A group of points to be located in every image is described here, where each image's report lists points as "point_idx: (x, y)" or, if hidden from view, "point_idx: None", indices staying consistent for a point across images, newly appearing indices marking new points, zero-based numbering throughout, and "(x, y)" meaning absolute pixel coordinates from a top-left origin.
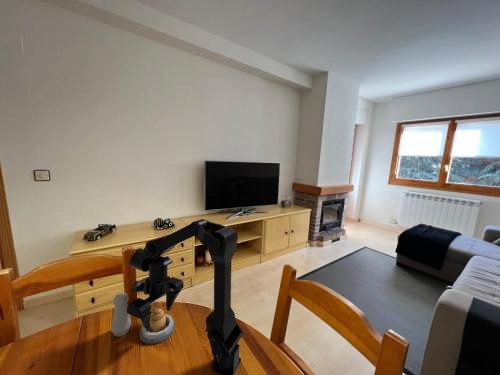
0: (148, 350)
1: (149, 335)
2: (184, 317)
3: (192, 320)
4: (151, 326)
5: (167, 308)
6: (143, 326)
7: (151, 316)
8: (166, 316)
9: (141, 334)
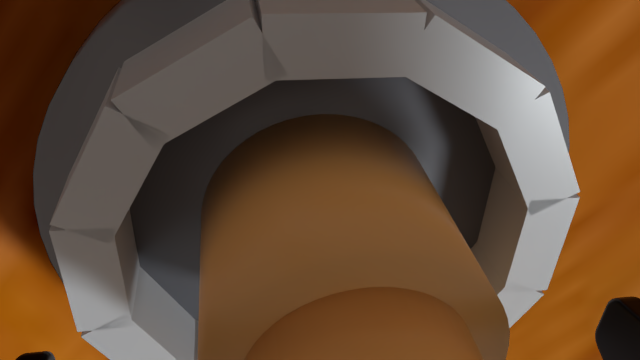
0: (27, 327)
1: (87, 335)
2: (622, 274)
3: (590, 356)
4: (200, 285)
5: (632, 344)
6: (139, 119)
7: (306, 275)
8: (524, 242)
9: (72, 121)
